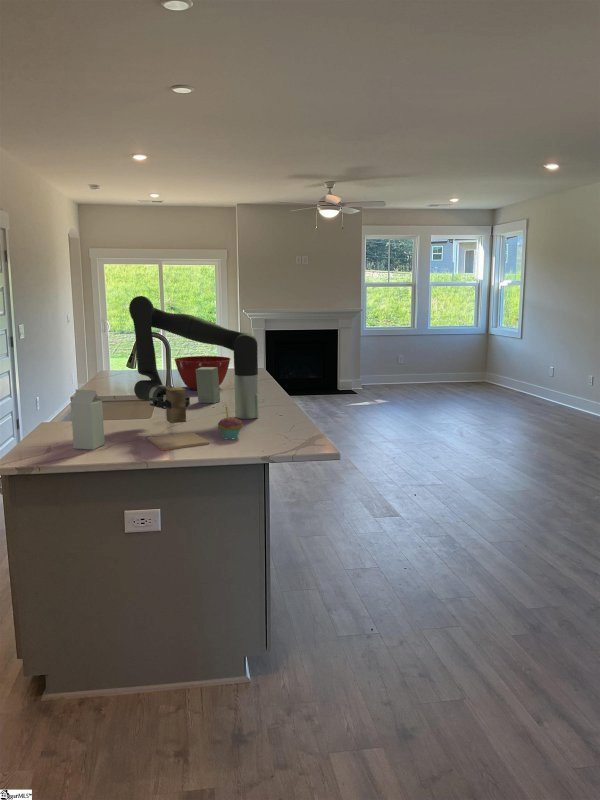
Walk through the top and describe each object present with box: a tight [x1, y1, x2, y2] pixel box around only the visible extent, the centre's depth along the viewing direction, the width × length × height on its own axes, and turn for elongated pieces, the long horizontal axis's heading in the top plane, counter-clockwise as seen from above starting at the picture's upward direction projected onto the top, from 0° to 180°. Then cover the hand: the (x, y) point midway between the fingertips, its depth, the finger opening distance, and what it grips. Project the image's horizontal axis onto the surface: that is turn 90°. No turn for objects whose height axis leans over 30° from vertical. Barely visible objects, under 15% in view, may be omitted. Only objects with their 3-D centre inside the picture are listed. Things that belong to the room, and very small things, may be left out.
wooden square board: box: [147, 431, 210, 451], centre depth 209 cm, size 16×16×1 cm
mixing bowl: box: [173, 355, 232, 391], centre depth 317 cm, size 28×28×16 cm
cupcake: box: [217, 405, 243, 440], centre depth 214 cm, size 9×8×12 cm
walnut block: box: [165, 386, 187, 424], centre depth 207 cm, size 5×5×11 cm
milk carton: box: [70, 389, 105, 450], centre depth 201 cm, size 7×7×19 cm
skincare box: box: [196, 367, 221, 404], centre depth 278 cm, size 8×7×16 cm
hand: (178, 404), depth 204 cm, fingers closed on walnut block, 5 cm apart
